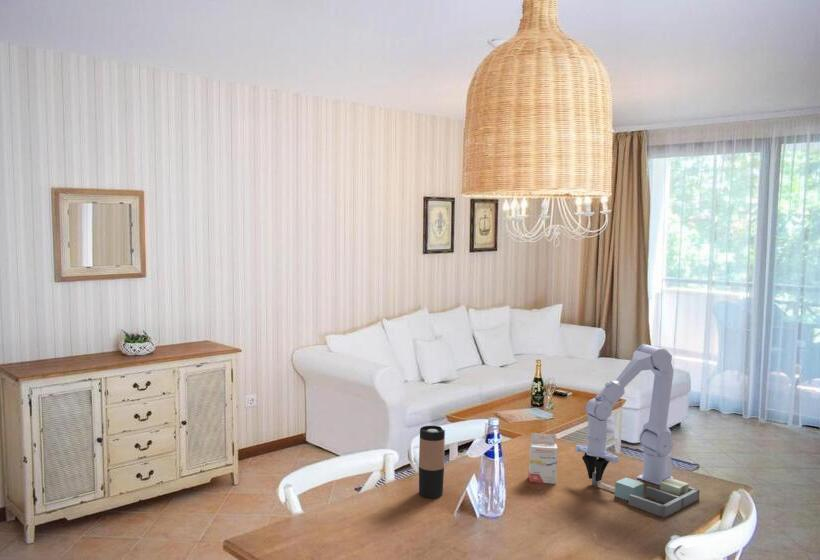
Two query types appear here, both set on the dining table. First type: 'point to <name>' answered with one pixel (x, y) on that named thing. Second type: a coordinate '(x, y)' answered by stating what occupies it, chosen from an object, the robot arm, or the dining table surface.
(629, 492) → the teal block with cord
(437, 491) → the travel mug
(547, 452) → the ink cartridge box
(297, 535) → the dining table surface
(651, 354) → the robot arm
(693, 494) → the lane rack
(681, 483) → the sage block
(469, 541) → the dining table surface
